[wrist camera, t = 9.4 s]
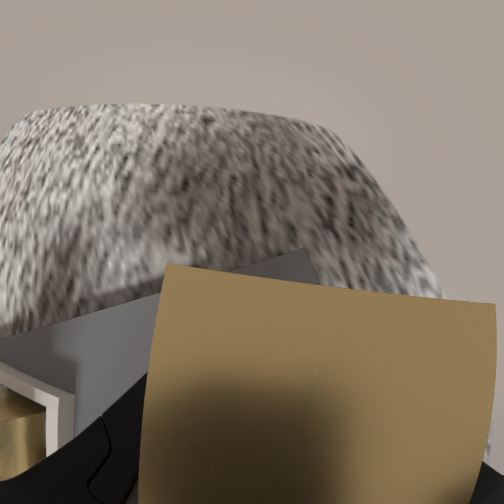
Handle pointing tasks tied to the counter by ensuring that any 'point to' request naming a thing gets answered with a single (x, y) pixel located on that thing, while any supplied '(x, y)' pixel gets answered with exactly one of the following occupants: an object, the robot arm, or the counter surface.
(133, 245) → the counter surface
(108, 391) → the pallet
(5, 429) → the block
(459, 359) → the block
